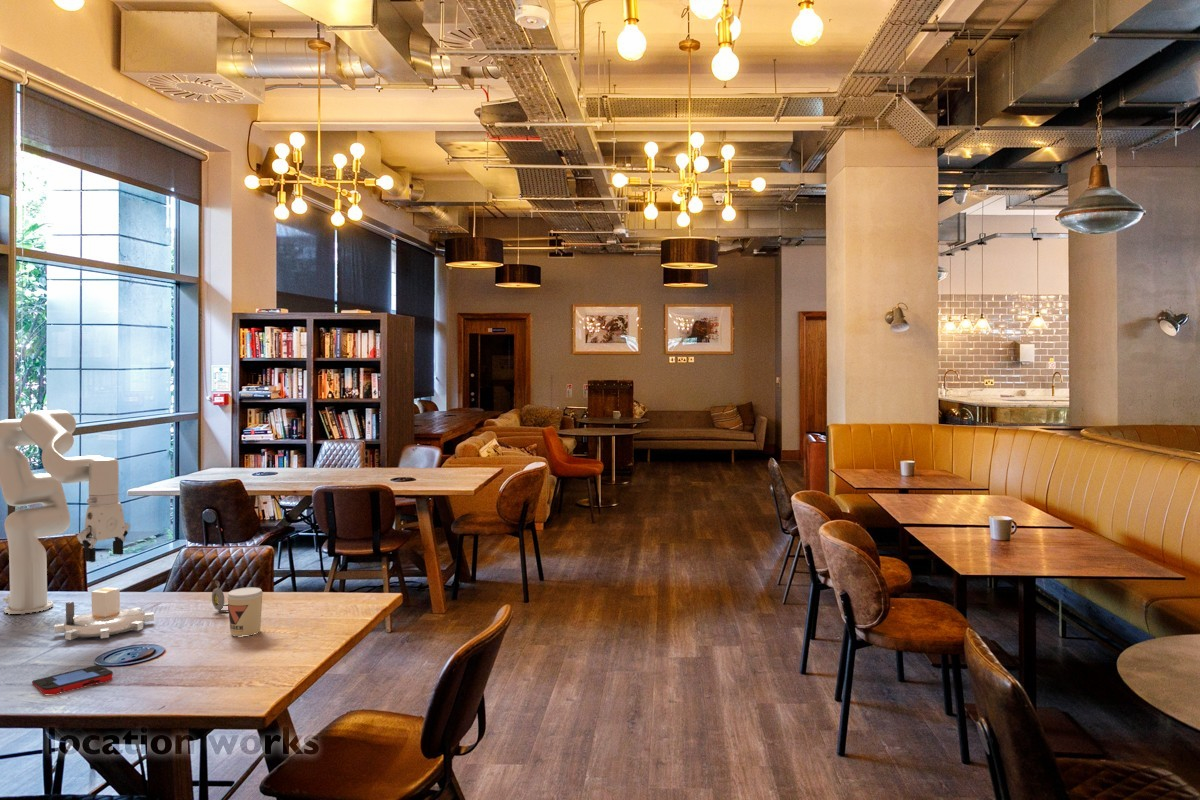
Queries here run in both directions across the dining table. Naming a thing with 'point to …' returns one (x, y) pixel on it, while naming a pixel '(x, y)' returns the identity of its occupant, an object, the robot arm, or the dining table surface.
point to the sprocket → (101, 623)
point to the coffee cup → (245, 610)
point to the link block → (105, 601)
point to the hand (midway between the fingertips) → (104, 557)
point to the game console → (73, 679)
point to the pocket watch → (218, 598)
